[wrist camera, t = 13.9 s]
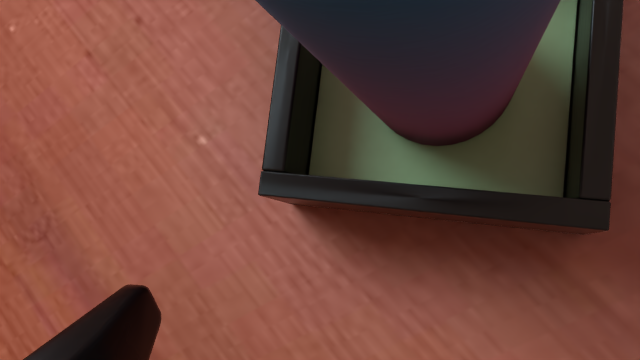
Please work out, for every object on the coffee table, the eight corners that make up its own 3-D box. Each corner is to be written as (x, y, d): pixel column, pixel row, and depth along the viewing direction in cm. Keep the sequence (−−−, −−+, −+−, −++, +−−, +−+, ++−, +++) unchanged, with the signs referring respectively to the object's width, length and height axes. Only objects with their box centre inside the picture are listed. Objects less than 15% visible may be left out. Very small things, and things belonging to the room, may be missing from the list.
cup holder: (585, 234, 17) (609, 230, 14) (289, 203, 20) (257, 194, 17) (605, -61, 18) (632, -125, 15) (322, -51, 21) (296, -101, 18)
